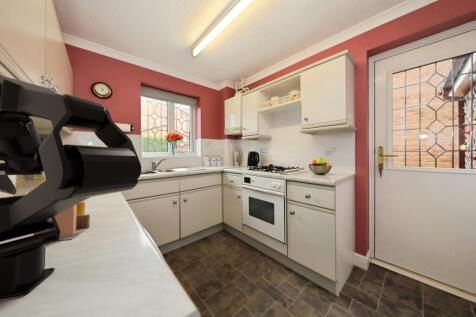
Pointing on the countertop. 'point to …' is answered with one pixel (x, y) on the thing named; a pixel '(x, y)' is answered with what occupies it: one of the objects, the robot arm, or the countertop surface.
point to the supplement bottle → (81, 208)
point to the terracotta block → (67, 221)
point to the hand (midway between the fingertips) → (43, 191)
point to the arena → (77, 226)
